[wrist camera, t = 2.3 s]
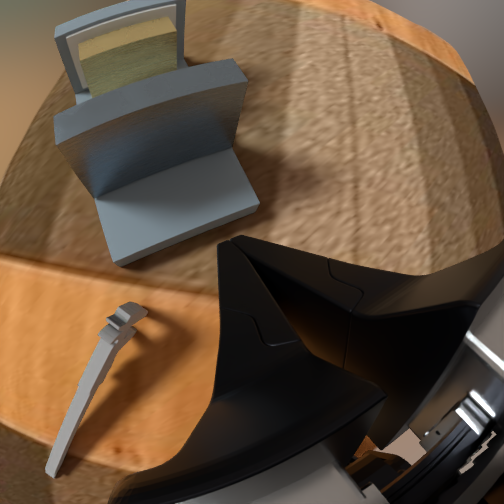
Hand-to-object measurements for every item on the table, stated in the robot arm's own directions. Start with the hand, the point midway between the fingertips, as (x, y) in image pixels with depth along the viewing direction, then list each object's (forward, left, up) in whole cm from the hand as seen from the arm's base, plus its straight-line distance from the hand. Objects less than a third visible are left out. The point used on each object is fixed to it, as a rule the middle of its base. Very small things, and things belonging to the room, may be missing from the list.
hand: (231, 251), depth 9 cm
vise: (+6, +14, -14) cm, 21 cm away
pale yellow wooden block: (+8, +19, -12) cm, 23 cm away
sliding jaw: (+4, +11, -11) cm, 16 cm away
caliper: (-15, +1, -14) cm, 20 cm away
